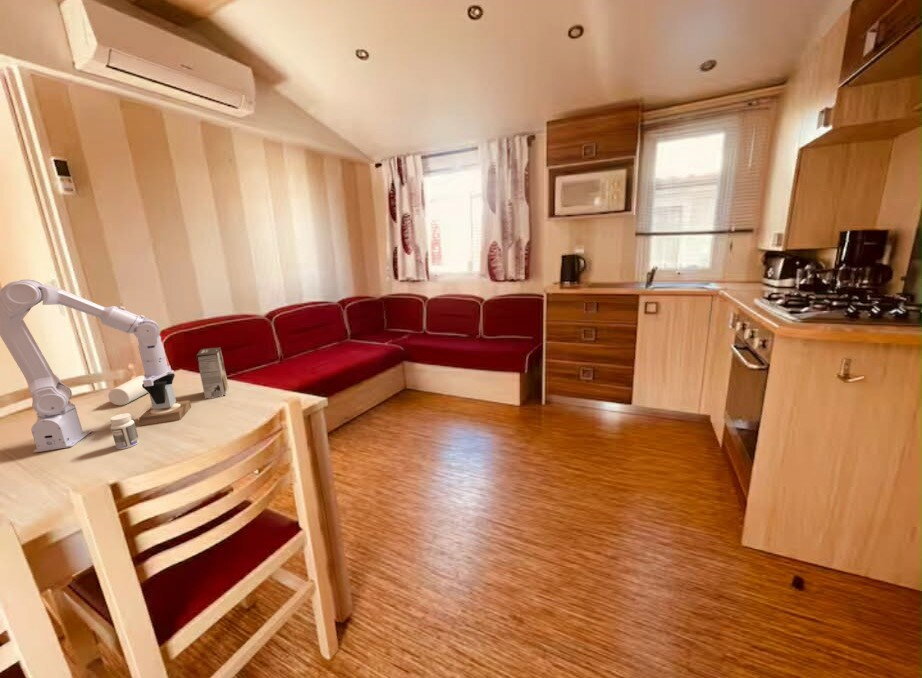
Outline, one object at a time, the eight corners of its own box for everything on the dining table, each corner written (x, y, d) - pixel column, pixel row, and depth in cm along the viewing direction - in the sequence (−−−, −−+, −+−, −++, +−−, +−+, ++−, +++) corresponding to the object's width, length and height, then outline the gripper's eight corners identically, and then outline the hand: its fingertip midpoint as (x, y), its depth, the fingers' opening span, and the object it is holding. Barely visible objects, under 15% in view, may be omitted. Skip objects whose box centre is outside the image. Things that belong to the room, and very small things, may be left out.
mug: (134, 399, 126) (157, 386, 138) (119, 384, 125) (144, 372, 136) (109, 414, 127) (135, 400, 138) (94, 399, 125) (121, 386, 136)
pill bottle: (137, 438, 103) (130, 410, 101) (141, 444, 100) (134, 415, 98) (114, 446, 100) (106, 417, 98) (118, 451, 97) (110, 422, 95)
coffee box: (209, 390, 138) (200, 349, 134) (229, 387, 140) (221, 346, 137) (204, 399, 130) (195, 355, 126) (225, 395, 132) (217, 352, 129)
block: (170, 407, 115) (166, 388, 114) (153, 409, 114) (148, 391, 112) (176, 401, 119) (172, 384, 118) (159, 403, 118) (154, 386, 116)
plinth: (180, 419, 114) (178, 411, 114) (141, 425, 111) (139, 417, 110) (191, 407, 123) (189, 399, 123) (155, 412, 120) (153, 404, 120)
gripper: (160, 363, 107) (170, 407, 111) (178, 351, 121) (186, 390, 124) (130, 366, 105) (141, 411, 108) (151, 354, 118) (161, 393, 122)
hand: (163, 400), depth 116 cm, fingers closed on block, 4 cm apart
